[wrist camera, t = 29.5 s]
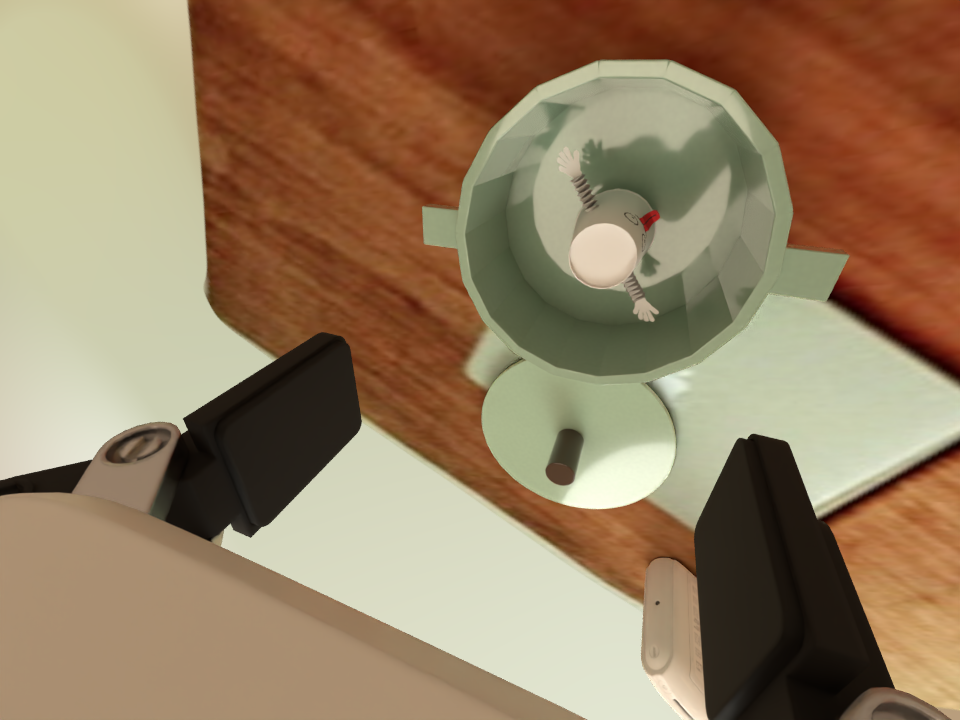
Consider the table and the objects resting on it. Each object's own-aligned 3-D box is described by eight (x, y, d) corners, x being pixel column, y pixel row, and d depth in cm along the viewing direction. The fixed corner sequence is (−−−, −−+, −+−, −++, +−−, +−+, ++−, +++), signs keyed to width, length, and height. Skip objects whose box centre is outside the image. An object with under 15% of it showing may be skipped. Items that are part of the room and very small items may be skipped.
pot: (470, 73, 28) (408, 60, 21) (867, 75, 21) (961, 57, 15) (467, 303, 37) (423, 345, 30) (746, 355, 30) (769, 424, 24)
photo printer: (639, 561, 45) (631, 686, 35) (672, 551, 43) (675, 683, 33) (701, 620, 46) (711, 759, 36) (738, 614, 43) (760, 761, 34)
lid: (488, 330, 38) (463, 362, 33) (704, 374, 32) (710, 419, 28) (482, 470, 47) (462, 510, 42) (648, 522, 42) (645, 574, 37)
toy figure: (695, 277, 29) (705, 328, 22) (619, 309, 32) (606, 363, 25) (620, 114, 26) (603, 113, 19) (543, 166, 29) (506, 182, 22)
